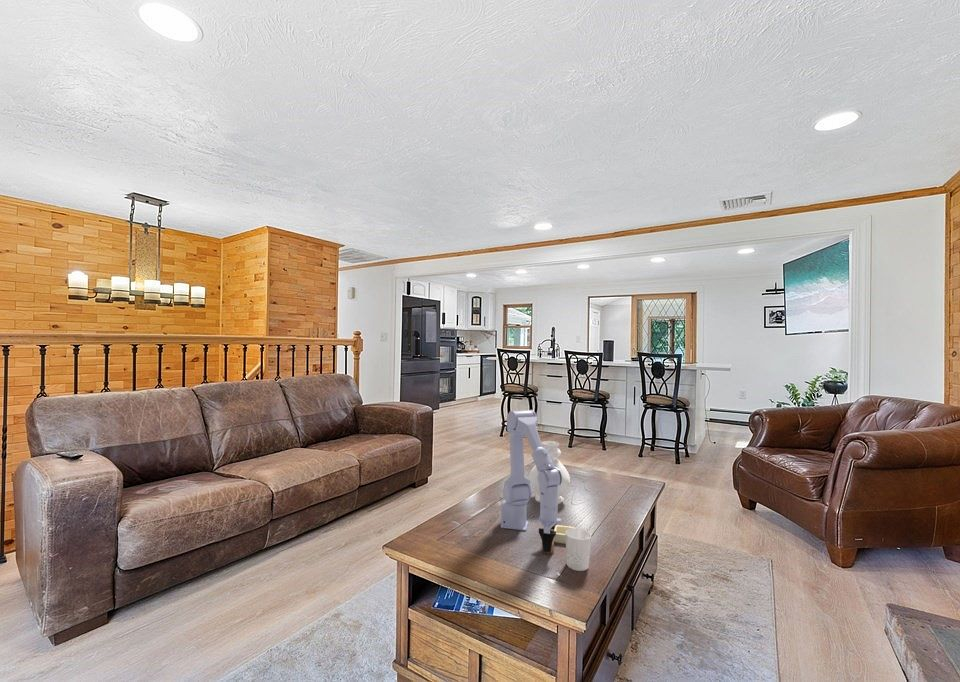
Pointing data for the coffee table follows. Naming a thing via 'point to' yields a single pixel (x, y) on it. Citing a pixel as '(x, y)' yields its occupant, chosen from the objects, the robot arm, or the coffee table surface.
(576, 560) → the white cup
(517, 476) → the robot arm
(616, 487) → the coffee table surface
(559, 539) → the cream square tray
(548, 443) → the decorative vase
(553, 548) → the brown cylinder
